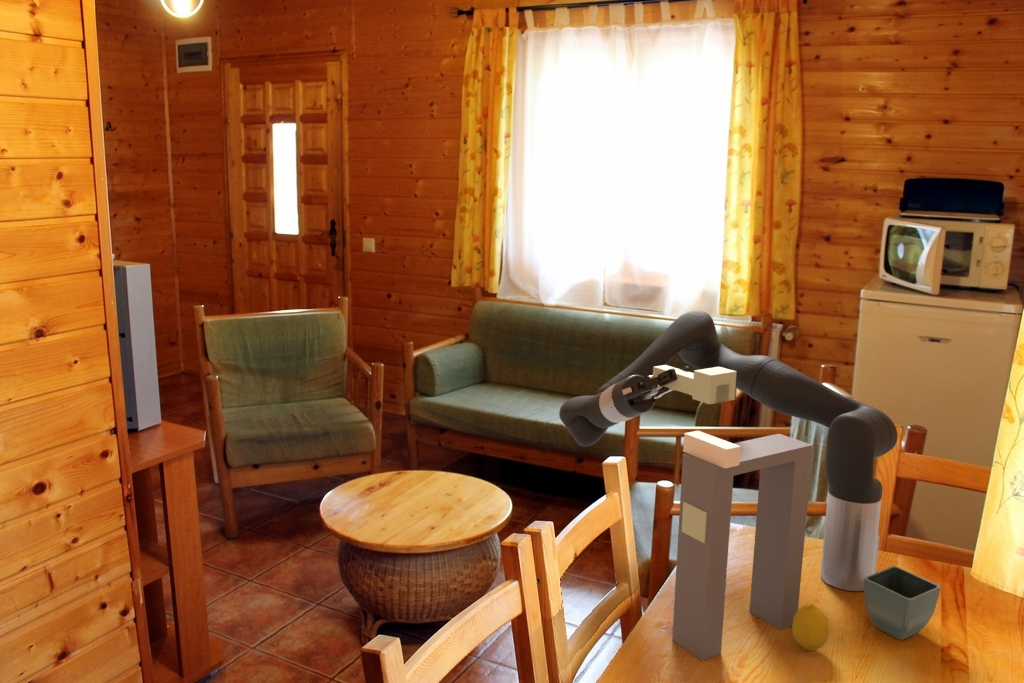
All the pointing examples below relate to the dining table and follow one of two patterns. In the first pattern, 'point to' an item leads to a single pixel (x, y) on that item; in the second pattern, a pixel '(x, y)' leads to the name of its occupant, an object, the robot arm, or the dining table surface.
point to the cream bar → (712, 449)
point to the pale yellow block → (703, 383)
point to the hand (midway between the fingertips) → (681, 372)
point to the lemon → (810, 627)
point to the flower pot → (899, 601)
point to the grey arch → (709, 539)
